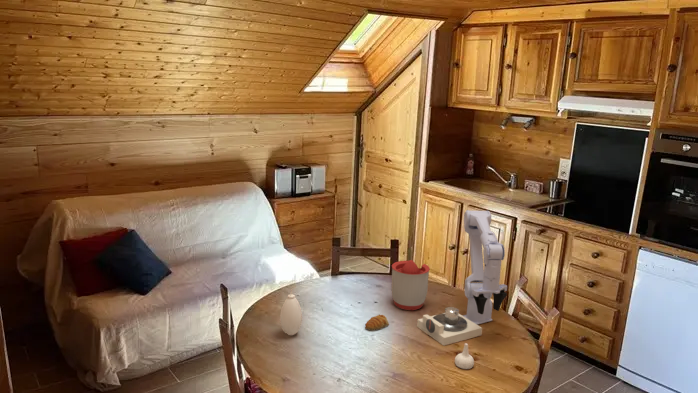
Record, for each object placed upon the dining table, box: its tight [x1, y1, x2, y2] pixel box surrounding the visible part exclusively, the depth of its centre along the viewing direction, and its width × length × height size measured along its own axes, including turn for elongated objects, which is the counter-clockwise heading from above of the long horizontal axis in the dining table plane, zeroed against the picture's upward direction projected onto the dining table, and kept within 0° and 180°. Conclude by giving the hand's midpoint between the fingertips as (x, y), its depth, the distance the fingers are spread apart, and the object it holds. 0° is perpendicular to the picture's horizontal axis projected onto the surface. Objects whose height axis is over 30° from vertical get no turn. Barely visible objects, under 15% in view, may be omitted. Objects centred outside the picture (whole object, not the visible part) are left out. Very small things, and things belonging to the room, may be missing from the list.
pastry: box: [364, 314, 390, 331], centre depth 199 cm, size 9×7×4 cm
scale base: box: [416, 312, 483, 346], centre depth 197 cm, size 18×16×6 cm
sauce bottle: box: [279, 288, 303, 336], centre depth 189 cm, size 8×8×18 cm
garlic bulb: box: [454, 342, 475, 370], centre depth 174 cm, size 6×6×8 cm
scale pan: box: [433, 313, 467, 332], centre depth 197 cm, size 13×13×1 cm
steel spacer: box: [444, 306, 460, 325], centre depth 196 cm, size 5×5×5 cm
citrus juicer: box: [390, 259, 430, 311], centre depth 218 cm, size 16×17×20 cm
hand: (488, 311), depth 191 cm, fingers open, 7 cm apart
